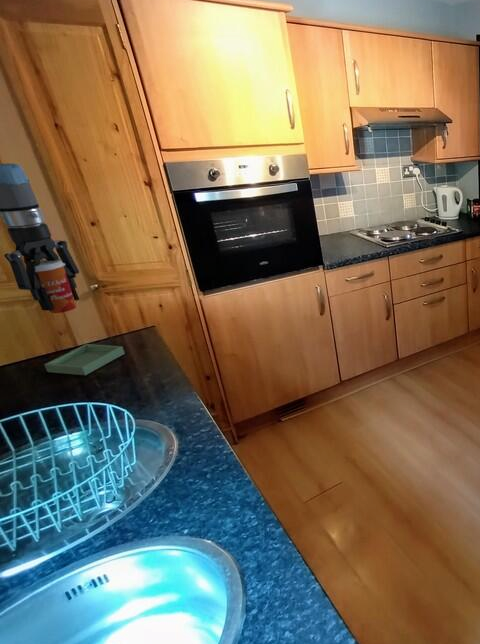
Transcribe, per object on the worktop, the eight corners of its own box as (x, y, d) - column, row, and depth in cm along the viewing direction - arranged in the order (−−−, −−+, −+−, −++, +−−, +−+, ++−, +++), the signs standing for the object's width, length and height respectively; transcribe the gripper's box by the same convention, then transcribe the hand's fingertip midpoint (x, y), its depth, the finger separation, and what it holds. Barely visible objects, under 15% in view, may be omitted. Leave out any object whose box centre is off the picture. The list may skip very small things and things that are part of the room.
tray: (47, 372, 132) (43, 364, 131) (89, 350, 143) (86, 343, 142) (85, 375, 130) (82, 367, 129) (125, 353, 142) (122, 346, 141)
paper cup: (43, 317, 124) (22, 269, 118) (46, 308, 129) (25, 261, 124) (81, 310, 128) (62, 263, 123) (82, 301, 134) (64, 256, 128)
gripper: (-5, 235, 110) (35, 320, 119) (76, 217, 127) (105, 292, 136) (-31, 234, 110) (11, 318, 120) (53, 216, 128) (84, 291, 137)
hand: (61, 304), depth 128 cm, fingers closed on paper cup, 6 cm apart
